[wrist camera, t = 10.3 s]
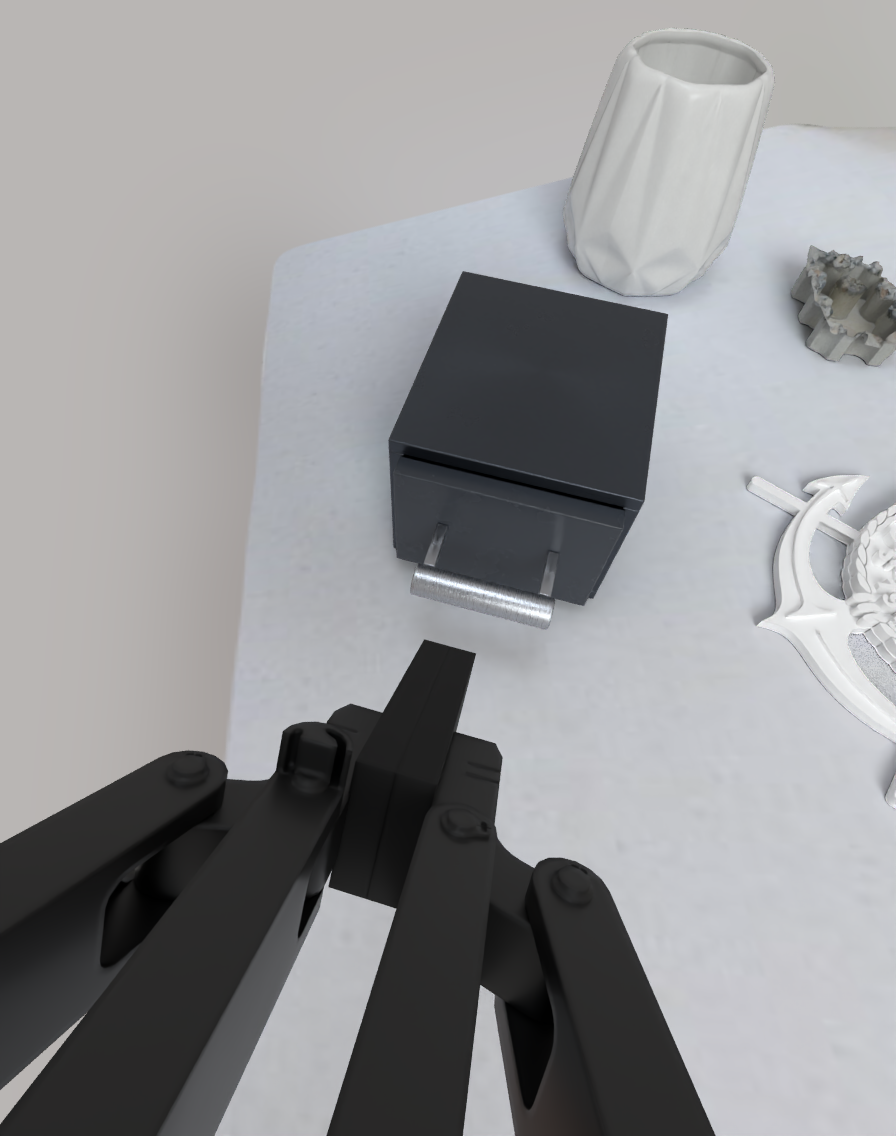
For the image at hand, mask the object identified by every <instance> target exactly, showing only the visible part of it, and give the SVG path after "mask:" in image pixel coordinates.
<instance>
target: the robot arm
mask: <svg viewBox="0 0 896 1136" xmlns="http://www.w3.org/2000/svg"><path fill="white" fill-rule="evenodd" d="M475 656H476V653H472V652H468V651H465V650H461V649H457V648H454V647H450V646H446V645H443V644H439V643H435V642H432V641H428V640H424V641H423V643H422V644H421V646H420V648H419V650H418V652H417V653H416V655H415V657H414V659H413V660H412V662H411V664H410V666H409V667H408V669H407V671H406V673H405V674H404V676H403V678H402V680H401V682H400V683H399V685H398V687H397V689H396V690H395V692H394V694H393V696H392V697H391V699H390V701H389V703H388V704H387V706H386V708H385V710H384V712H383V713H381V712H378V711H374V710H371V709H367V708H364V707H360V706H357V705H353V704H349V705H347V706H345V707H342V708H340V709H338V710H336V711H335V712H334V713H333V714H332V716H331V717H330V718H329V720H328V721H327V723H320V722H302V723H298V724H294V725H291V726H290V727H288V728H287V729H285V730H284V731H283V734H282V739H281V745H280V751H279V756H278V762H277V767H276V771H275V773H274V774H273V775H272V776H271V778H270V779H268V780H262V781H246V780H233V779H227V774H228V770H227V768H226V765H225V763H224V762H223V761H221V760H220V759H219V758H217V757H216V756H214V755H210V754H208V753H205V752H199V751H181V752H173V753H170V754H168V755H165V756H162V757H160V758H158V759H156V760H154V761H152V762H150V763H148V764H146V765H145V766H143V767H141V768H139V769H137V770H135V771H134V772H132V773H130V774H128V775H126V776H124V777H122V778H121V779H119V780H117V781H115V782H113V783H111V784H110V785H108V786H106V787H104V788H102V789H100V790H98V791H97V792H95V793H93V794H91V795H89V796H87V797H85V798H84V799H82V800H80V801H78V802H76V803H74V804H72V805H71V806H69V807H67V808H65V809H63V810H61V811H60V812H58V813H56V814H54V815H52V816H50V817H48V818H47V819H45V820H43V821H41V822H39V823H37V824H35V825H33V826H32V827H30V828H28V829H26V830H24V831H22V832H21V833H19V834H17V835H15V836H13V837H11V838H9V839H8V840H6V841H4V842H2V843H0V1090H1V1089H2V1088H3V1087H4V1086H5V1085H6V1084H7V1083H9V1082H10V1081H11V1080H12V1079H13V1078H14V1077H15V1076H16V1075H18V1074H19V1073H20V1072H21V1071H22V1070H23V1069H24V1068H25V1067H27V1066H28V1065H29V1064H30V1063H31V1062H32V1061H33V1060H34V1059H36V1058H37V1057H38V1056H39V1055H40V1054H41V1053H42V1052H43V1051H44V1050H46V1049H47V1048H48V1047H49V1046H50V1045H51V1044H52V1043H53V1042H55V1041H56V1040H57V1039H58V1038H59V1037H60V1036H61V1035H62V1034H63V1033H64V1032H66V1031H67V1030H68V1029H69V1028H70V1027H71V1026H72V1025H73V1024H75V1023H76V1022H77V1021H78V1020H79V1019H80V1018H81V1017H82V1016H84V1015H85V1014H86V1013H87V1014H86V1015H85V1017H84V1018H83V1019H82V1020H81V1021H80V1023H79V1024H78V1025H77V1027H76V1028H75V1029H74V1030H73V1032H72V1033H71V1034H70V1036H69V1037H68V1038H67V1039H66V1041H65V1042H64V1043H63V1044H62V1046H61V1047H60V1048H59V1050H58V1051H57V1052H56V1054H55V1055H54V1056H53V1057H52V1059H51V1060H50V1061H49V1062H48V1064H47V1065H46V1066H45V1068H44V1069H43V1070H42V1071H41V1073H40V1074H39V1075H38V1077H37V1078H36V1079H35V1080H34V1082H33V1083H32V1084H31V1086H30V1087H29V1088H28V1089H27V1091H26V1092H25V1093H24V1095H23V1096H22V1097H21V1099H20V1100H19V1101H18V1102H17V1104H16V1105H15V1106H14V1108H13V1109H12V1110H11V1111H10V1113H9V1114H8V1115H7V1116H6V1118H5V1119H4V1120H3V1122H2V1123H1V1124H0V1136H214V1135H215V1133H216V1131H217V1129H218V1126H219V1124H220V1122H221V1120H222V1118H223V1116H224V1113H225V1111H226V1109H227V1107H228V1105H229V1103H230V1100H231V1098H232V1096H233V1094H234V1092H235V1090H236V1088H237V1085H238V1083H239V1081H240V1079H241V1077H242V1075H243V1072H244V1070H245V1068H246V1066H247V1064H248V1062H249V1059H250V1057H251V1055H252V1053H253V1051H254V1049H255V1046H256V1044H257V1042H258V1040H259V1038H260V1036H261V1034H262V1031H263V1029H264V1027H265V1025H266V1023H267V1021H268V1018H269V1016H270V1014H271V1012H272V1010H273V1008H274V1005H275V1003H276V1001H277V999H278V997H279V995H280V992H281V990H282V988H283V986H284V984H285V982H286V980H287V977H288V975H289V973H290V971H291V969H292V967H293V964H294V962H295V960H296V958H297V956H298V954H299V951H300V949H301V947H302V945H303V943H304V941H305V938H306V936H307V934H308V932H309V930H310V928H311V926H312V923H313V921H314V919H315V917H316V915H317V913H318V910H319V908H320V903H321V898H322V894H323V889H324V885H325V883H326V881H327V879H328V877H329V875H330V873H331V871H332V873H331V878H330V882H329V887H330V888H333V889H336V890H340V891H343V892H346V893H349V894H352V895H355V896H359V897H362V898H365V899H368V900H371V901H374V902H378V903H381V904H384V905H387V906H390V907H393V908H397V909H396V912H395V916H394V919H393V922H392V925H391V929H390V932H389V935H388V938H387V942H386V945H385V948H384V951H383V955H382V958H381V961H380V964H379V967H378V971H377V974H376V977H375V980H374V984H373V987H372V990H371V993H370V997H369V1000H368V1003H367V1006H366V1010H365V1013H364V1016H363V1019H362V1023H361V1026H360V1029H359V1032H358V1036H357V1039H356V1042H355V1045H354V1048H353V1052H352V1055H351V1058H350V1061H349V1065H348V1068H347V1071H346V1074H345V1078H344V1081H343V1084H342V1087H341V1091H340V1094H339V1097H338V1100H337V1104H336V1107H335V1110H334V1113H333V1117H332V1120H331V1123H330V1126H329V1129H328V1133H327V1136H463V1129H464V1120H465V1111H466V1103H467V1094H468V1085H469V1077H470V1068H471V1059H472V1051H473V1042H474V1033H475V1025H476V1016H477V1007H478V998H479V990H480V985H482V986H483V987H485V988H486V989H488V990H489V991H491V992H492V993H494V994H495V1004H494V1008H495V1014H496V1020H497V1026H498V1032H499V1038H500V1045H501V1051H502V1057H503V1063H504V1069H505V1075H506V1082H507V1088H508V1094H509V1100H510V1106H511V1112H512V1119H513V1125H514V1131H515V1136H715V1134H714V1131H713V1129H712V1127H711V1124H710V1122H709V1120H708V1117H707V1115H706V1113H705V1110H704V1108H703V1106H702V1104H701V1101H700V1099H699V1097H698V1094H697V1092H696V1090H695V1087H694V1085H693V1083H692V1080H691V1078H690V1076H689V1074H688V1071H687V1069H686V1067H685V1064H684V1062H683V1060H682V1057H681V1055H680V1053H679V1051H678V1048H677V1046H676V1044H675V1041H674V1039H673V1037H672V1034H671V1032H670V1030H669V1027H668V1025H667V1023H666V1021H665V1018H664V1016H663V1014H662V1011H661V1009H660V1007H659V1004H658V1002H657V1000H656V997H655V995H654V993H653V991H652V988H651V986H650V984H649V981H648V979H647V977H646V974H645V972H644V970H643V967H642V965H641V963H640V961H639V958H638V956H637V954H636V951H635V949H634V947H633V944H632V942H631V940H630V937H629V935H628V933H627V931H626V928H625V926H624V924H623V921H622V919H621V917H620V914H619V912H618V910H617V908H616V905H615V903H614V901H613V898H612V896H611V894H610V891H609V890H608V888H607V887H606V885H605V884H604V882H603V881H602V879H600V878H599V877H598V876H597V875H596V874H595V873H594V872H593V871H591V870H590V869H589V868H587V867H585V866H583V865H581V864H579V863H578V862H576V861H572V860H568V859H565V858H547V859H545V860H542V861H540V862H538V864H537V865H536V867H535V868H533V867H531V866H529V865H528V864H526V863H524V862H522V861H521V860H519V859H518V858H516V857H515V856H513V855H512V854H511V853H510V852H509V851H507V850H506V849H505V848H504V847H503V845H502V844H501V842H500V841H499V840H498V838H497V833H496V827H495V825H494V824H495V815H496V807H497V799H498V791H499V782H500V774H501V773H500V772H501V766H502V755H501V754H500V752H499V750H498V748H497V746H496V744H495V743H492V742H489V741H485V740H482V739H478V738H475V737H471V736H468V735H464V734H461V733H457V732H456V730H457V726H458V722H459V718H460V714H461V710H462V706H463V702H464V698H465V695H466V691H467V687H468V683H469V679H470V675H471V671H472V667H473V663H474V659H475Z"/></svg>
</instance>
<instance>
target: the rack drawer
mask: <svg viewBox="0 0 896 1136" xmlns="http://www.w3.org/2000/svg"><path fill="white" fill-rule="evenodd" d="M393 478H394V502H395V527H396V552H397V558H400V559H404V560H408V561H412V562H415V563H419V564H418V565H417V567H416V569H415V572H414V575H413V579H412V583H411V594H413V595H416V596H420V597H424V598H428V599H432V600H435V601H439V602H443V603H447V604H451V605H454V606H458V607H462V608H466V609H469V610H473V611H477V612H481V613H485V614H488V615H492V616H496V617H500V618H504V619H507V620H511V621H515V622H519V623H523V624H526V625H530V626H534V627H538V628H542V629H545V630H546V629H547V628H548V626H549V623H550V620H551V617H552V613H553V608H554V603H555V599H559V600H563V601H566V602H570V603H574V604H578V605H582V606H584V605H585V603H586V601H587V599H588V597H589V595H590V593H591V591H592V589H593V587H594V585H595V583H596V581H597V579H598V577H599V575H600V573H601V571H602V569H603V568H604V566H605V564H606V562H607V560H608V558H609V556H610V554H611V552H612V550H613V548H614V546H615V544H616V542H617V540H618V538H619V536H620V534H621V532H622V530H623V527H624V520H625V511H624V510H621V509H617V508H613V507H608V506H606V505H607V503H604V502H600V501H596V500H592V499H587V498H583V497H579V496H575V495H571V494H567V493H562V492H558V491H554V490H550V489H546V488H542V487H538V486H533V485H529V484H525V483H521V482H517V481H513V480H509V479H504V478H500V477H496V476H492V475H488V474H484V473H480V472H475V471H471V470H467V469H463V468H459V467H455V466H450V465H446V464H442V463H438V462H434V461H430V460H426V459H421V461H418V460H414V459H410V458H406V457H400V458H399V460H398V463H397V465H396V468H395V470H394V472H393ZM554 598H555V599H554Z"/></svg>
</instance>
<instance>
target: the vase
mask: <svg viewBox="0 0 896 1136" xmlns="http://www.w3.org/2000/svg"><path fill="white" fill-rule="evenodd" d="M774 81H775V77H774V72H773V68H772V66H771V65H770V63H769V62H768V61H767V60H766V59H765V58H764V56H763V55H762V53H760V52H759V51H757V50H755V49H754V48H752V47H750V46H749V45H747V44H745V43H743V42H741V41H739V40H737V39H731V38H728V37H726V36H725V35H722V34H717V33H712V32H708V31H702V30H696V29H688V28H687V29H677V28H668V29H661V30H655V31H649V32H645V33H643V34H642V35H641V36H637V37H635V38H634V39H633V40H632V41H630V42H629V43H628V44H627V45H626V47H625V48H624V49H623V50H622V51H621V53H620V54H619V56H618V57H617V60H616V62H615V64H614V67H613V70H612V72H611V75H610V77H609V80H608V83H607V85H606V88H605V91H604V93H603V96H602V98H601V101H600V104H599V107H598V109H597V112H596V115H595V118H594V120H593V123H592V126H591V128H590V131H589V134H588V137H587V139H586V142H585V145H584V148H583V151H582V153H581V156H580V159H579V162H578V165H577V168H576V171H575V173H574V176H573V179H572V182H571V185H570V188H569V191H568V194H567V198H566V202H565V205H564V208H563V218H564V224H565V228H566V232H567V245H568V248H569V250H570V252H571V253H572V255H573V256H574V257H575V258H576V262H577V266H578V269H579V270H580V272H581V273H582V274H583V275H584V276H586V277H587V278H589V279H591V280H593V281H595V282H597V283H599V284H601V285H603V286H605V287H607V288H609V289H610V290H612V291H615V292H617V293H619V294H621V295H623V296H666V295H673V294H676V293H678V292H680V291H681V290H683V289H684V288H685V287H686V286H687V285H688V284H689V283H690V282H693V281H695V280H697V279H699V278H701V277H702V276H703V275H704V274H705V273H706V271H707V270H708V268H709V267H710V266H711V264H712V263H713V262H714V261H715V260H716V259H717V258H718V257H719V256H720V255H721V254H722V253H723V251H724V250H725V248H726V247H727V245H728V243H729V240H730V238H731V234H732V232H733V229H734V226H735V223H736V219H737V216H738V213H739V210H740V207H741V204H742V200H743V197H744V193H745V190H746V186H747V183H748V180H749V176H750V173H751V169H752V166H753V162H754V159H755V155H756V151H757V148H758V144H759V141H760V137H761V134H762V130H763V126H764V123H765V119H766V115H767V112H768V108H769V104H770V100H771V96H772V92H773V88H774Z"/></svg>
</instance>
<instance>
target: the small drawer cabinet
mask: <svg viewBox="0 0 896 1136" xmlns="http://www.w3.org/2000/svg"><path fill="white" fill-rule="evenodd" d="M667 319H668V314H665V313H660V312H656V311H651V310H646V309H641V308H637V307H632V306H627V305H622V304H617V303H613V302H608V301H603V300H598V299H594V298H589V297H584V296H579V295H574V294H570V293H565V292H560V291H555V290H550V289H546V288H541V287H536V286H531V285H527V284H522V283H517V282H512V281H507V280H503V279H498V278H493V277H488V276H484V275H479V274H474V273H469V272H464V271H463V272H462V274H461V276H460V279H459V281H458V283H457V285H456V288H455V290H454V292H453V294H452V297H451V299H450V301H449V304H448V306H447V308H446V310H445V313H444V315H443V317H442V320H441V322H440V324H439V326H438V329H437V331H436V333H435V335H434V338H433V340H432V342H431V345H430V347H429V349H428V351H427V354H426V356H425V358H424V360H423V363H422V365H421V367H420V370H419V372H418V374H417V376H416V379H415V381H414V383H413V386H412V388H411V390H410V392H409V395H408V397H407V399H406V401H405V404H404V406H403V408H402V411H401V413H400V415H399V417H398V420H397V422H396V424H395V426H394V429H393V431H392V433H391V436H390V438H389V458H390V479H391V500H392V521H393V545H394V548H396V527H395V502H394V478H393V472H394V470H395V468H396V465H397V463H398V460H399V458H400V457H406V458H410V459H414V460H418V461H421V459H426V460H430V461H434V462H438V463H442V464H446V465H450V466H455V467H459V468H463V469H467V470H471V471H475V472H480V473H484V474H488V475H492V476H496V477H500V478H504V479H509V480H513V481H517V482H521V483H525V484H529V485H533V486H538V487H542V488H546V489H550V490H554V491H558V492H562V493H567V494H571V495H575V496H579V497H583V498H587V499H592V500H596V501H600V502H604V503H607V505H606V506H608V507H613V508H617V509H621V510H624V511H625V520H624V527H623V530H622V532H621V534H620V536H619V538H618V540H617V542H616V544H615V546H614V548H613V550H612V552H611V554H610V556H609V558H608V560H607V562H606V564H605V566H604V568H603V569H602V571H601V573H600V575H599V577H598V579H597V581H596V583H595V585H594V587H593V589H592V591H591V593H590V595H589V597H588V598H594V596H595V594H596V592H597V590H598V588H599V586H600V585H601V583H602V581H603V579H604V577H605V575H606V573H607V571H608V569H609V568H610V566H611V564H612V562H613V560H614V558H615V556H616V554H617V552H618V550H619V549H620V547H621V545H622V543H623V541H624V539H625V537H626V535H627V533H628V531H629V530H630V528H631V526H632V524H633V522H634V520H635V518H636V516H637V514H638V512H639V510H640V509H641V507H642V505H643V503H644V500H645V492H646V484H647V477H648V469H649V461H650V453H651V445H652V437H653V429H654V421H655V414H656V406H657V398H658V390H659V382H660V374H661V366H662V358H663V351H664V343H665V335H666V327H667Z"/></svg>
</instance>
